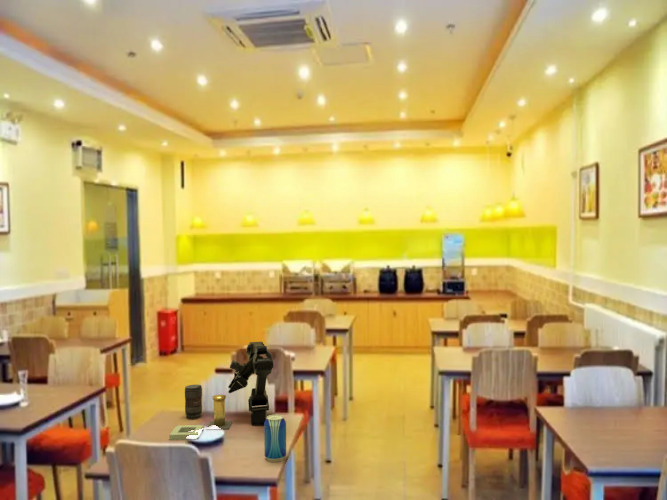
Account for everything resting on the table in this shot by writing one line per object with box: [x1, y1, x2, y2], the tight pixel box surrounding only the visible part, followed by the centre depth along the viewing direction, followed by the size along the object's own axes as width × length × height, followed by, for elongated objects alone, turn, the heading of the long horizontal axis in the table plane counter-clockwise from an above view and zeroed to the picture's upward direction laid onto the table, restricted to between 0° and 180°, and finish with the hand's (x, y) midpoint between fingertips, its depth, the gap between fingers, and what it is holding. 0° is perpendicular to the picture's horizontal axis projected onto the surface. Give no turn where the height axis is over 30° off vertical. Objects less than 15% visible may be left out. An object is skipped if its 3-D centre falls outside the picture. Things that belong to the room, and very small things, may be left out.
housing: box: [168, 424, 205, 441], centre depth 239 cm, size 12×12×2 cm
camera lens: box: [184, 384, 203, 420], centre depth 264 cm, size 8×8×15 cm
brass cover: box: [212, 394, 227, 426], centre depth 250 cm, size 6×6×13 cm
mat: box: [206, 420, 233, 431], centre depth 250 cm, size 10×10×1 cm
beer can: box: [263, 414, 287, 463], centre depth 212 cm, size 8×8×16 cm
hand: (228, 390), depth 261 cm, fingers open, 9 cm apart
